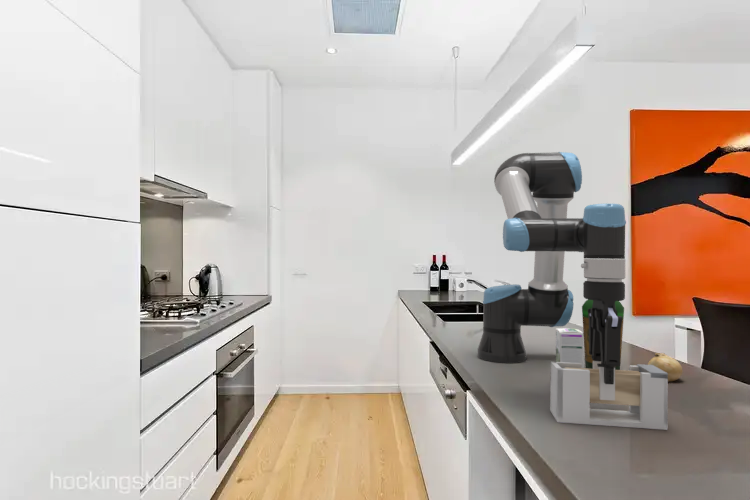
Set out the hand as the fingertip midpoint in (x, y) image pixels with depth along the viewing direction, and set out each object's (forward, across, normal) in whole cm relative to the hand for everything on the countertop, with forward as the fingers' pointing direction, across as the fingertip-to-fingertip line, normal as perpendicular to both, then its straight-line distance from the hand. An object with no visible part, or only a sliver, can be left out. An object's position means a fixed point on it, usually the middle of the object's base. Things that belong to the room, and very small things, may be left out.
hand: (603, 395), depth 91 cm
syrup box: (+5, -22, -1) cm, 23 cm away
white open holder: (+5, 0, 0) cm, 5 cm away
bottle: (+5, -37, +11) cm, 39 cm away
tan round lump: (+5, -35, +26) cm, 44 cm away
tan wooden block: (+1, 0, 0) cm, 1 cm away
